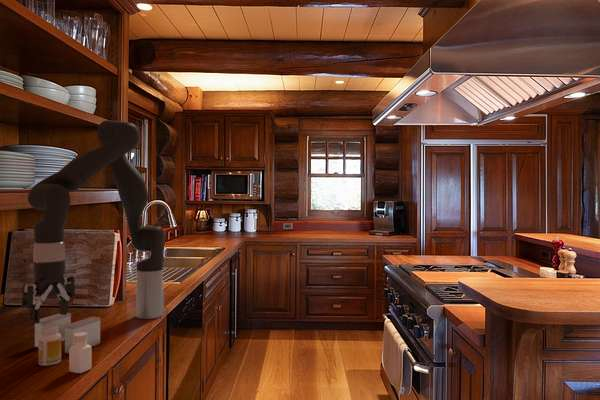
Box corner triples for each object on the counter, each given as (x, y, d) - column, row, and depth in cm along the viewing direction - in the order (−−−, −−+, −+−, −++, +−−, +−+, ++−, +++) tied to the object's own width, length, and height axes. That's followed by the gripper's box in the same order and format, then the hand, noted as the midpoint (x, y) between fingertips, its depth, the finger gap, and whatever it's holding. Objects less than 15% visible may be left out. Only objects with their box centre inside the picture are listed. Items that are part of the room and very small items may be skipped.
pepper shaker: (68, 372, 116) (68, 335, 116) (81, 366, 120) (81, 330, 119) (79, 374, 114) (79, 337, 114) (92, 369, 118) (92, 332, 118)
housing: (63, 336, 143) (63, 312, 143) (100, 343, 138) (100, 317, 138) (34, 346, 134) (34, 320, 134) (73, 354, 129) (73, 326, 128)
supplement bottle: (64, 358, 125) (65, 323, 125) (55, 366, 120) (55, 329, 120) (44, 358, 125) (45, 323, 125) (34, 366, 120) (34, 329, 119)
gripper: (61, 254, 130) (62, 310, 130) (14, 261, 117) (14, 324, 117) (81, 256, 127) (81, 313, 128) (35, 263, 114) (35, 328, 114)
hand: (49, 318), depth 122 cm, fingers open, 8 cm apart
